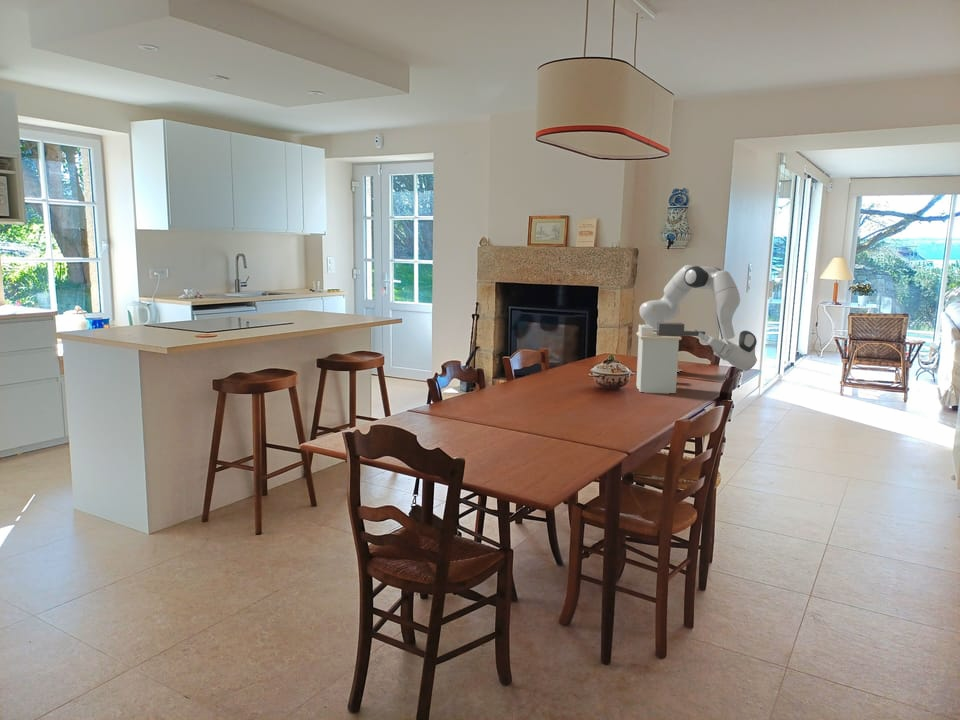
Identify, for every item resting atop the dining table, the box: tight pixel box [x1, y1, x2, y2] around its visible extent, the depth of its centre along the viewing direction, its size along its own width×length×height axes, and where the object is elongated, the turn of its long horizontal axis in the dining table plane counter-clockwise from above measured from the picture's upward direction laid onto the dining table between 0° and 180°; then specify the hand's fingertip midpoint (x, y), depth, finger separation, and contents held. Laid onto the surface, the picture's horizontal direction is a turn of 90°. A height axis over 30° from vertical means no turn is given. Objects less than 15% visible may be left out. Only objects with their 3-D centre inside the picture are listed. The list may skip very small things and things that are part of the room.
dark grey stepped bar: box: [653, 321, 706, 337], centre depth 315 cm, size 24×7×6 cm, turn 84°
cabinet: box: [635, 331, 683, 394], centre depth 318 cm, size 18×18×26 cm
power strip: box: [637, 323, 653, 336], centre depth 317 cm, size 5×12×4 cm, turn 174°
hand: (696, 332), depth 314 cm, fingers open, 8 cm apart
